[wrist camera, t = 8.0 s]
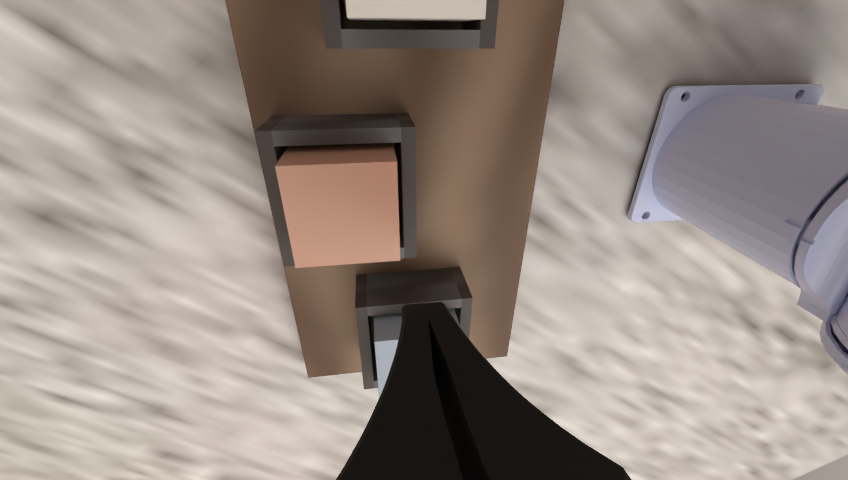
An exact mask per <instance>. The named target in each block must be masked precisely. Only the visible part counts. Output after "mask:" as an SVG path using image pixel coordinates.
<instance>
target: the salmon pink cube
mask: <svg viewBox="0 0 848 480" xmlns="http://www.w3.org/2000/svg"><path fill="white" fill-rule="evenodd" d="M275 169H276V174H277V179H278V184H279V189H280V194H281V199H282V204H283V209H284V214H285V219H286V224H287V228H288V233H289V238H290V243H291V248H292V253H293V258H294V263H295V268H304V267H318V266H332V265H345V264H359V263H373V262H387V261H400V234H399V204H398V173H397V159H396V155H395V151H394V147H393V143H366V144H335V145H304V146H288V148H287V149H286V151H285V152H284V153H283V155H282V156H281V158H280V159H279V161H278V162H277V164H276V165H275Z"/></svg>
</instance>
